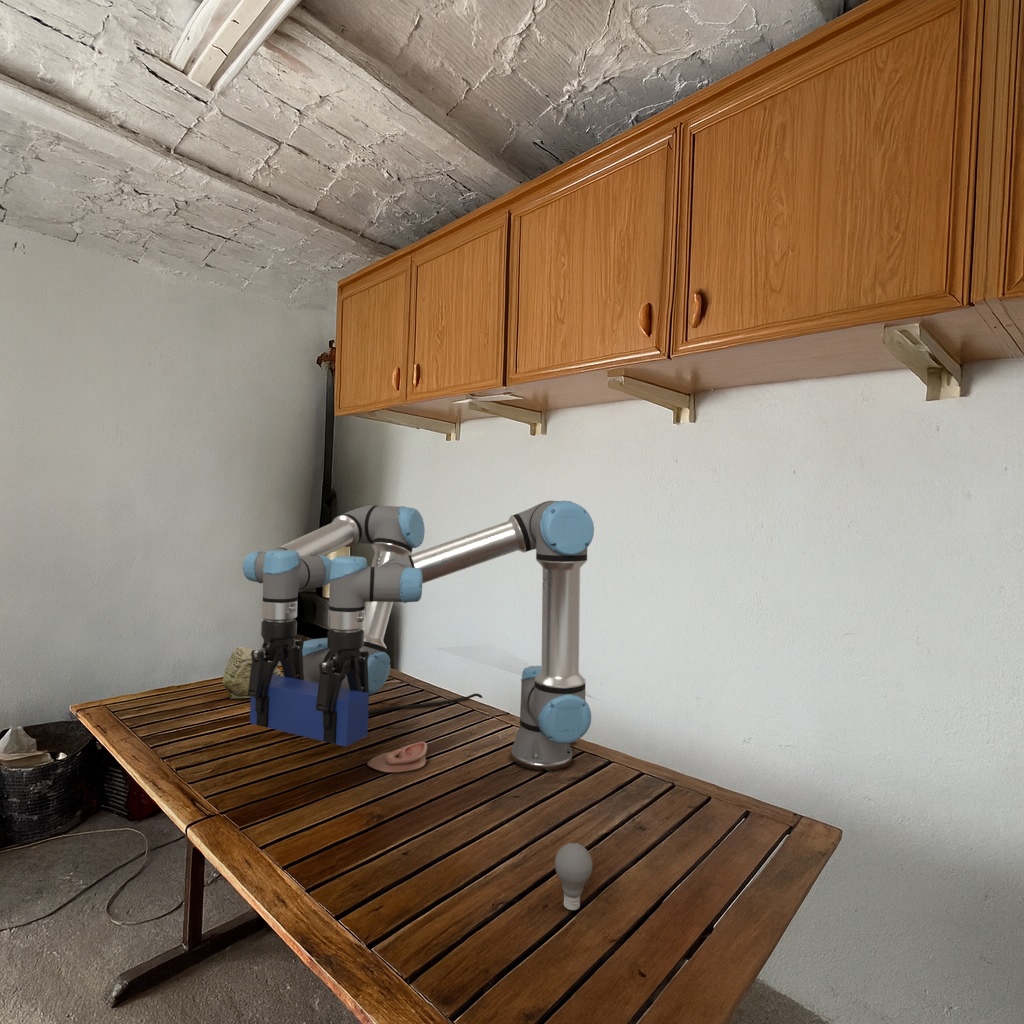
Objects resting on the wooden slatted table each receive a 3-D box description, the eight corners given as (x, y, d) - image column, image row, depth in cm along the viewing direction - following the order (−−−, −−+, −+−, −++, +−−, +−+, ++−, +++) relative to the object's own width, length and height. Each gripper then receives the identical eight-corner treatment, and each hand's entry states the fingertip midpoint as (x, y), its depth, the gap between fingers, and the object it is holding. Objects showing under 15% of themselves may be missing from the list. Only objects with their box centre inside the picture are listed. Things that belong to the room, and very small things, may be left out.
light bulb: (550, 895, 103) (552, 835, 103) (586, 895, 104) (589, 835, 104) (555, 920, 97) (558, 856, 97) (594, 919, 98) (597, 855, 98)
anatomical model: (361, 752, 147) (381, 734, 159) (361, 769, 148) (381, 750, 159) (415, 759, 145) (432, 741, 156) (415, 776, 145) (431, 757, 156)
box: (249, 723, 141) (251, 682, 141) (273, 713, 148) (275, 674, 148) (346, 747, 131) (347, 702, 130) (367, 735, 137) (369, 693, 137)
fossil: (218, 695, 195) (220, 647, 195) (278, 685, 208) (279, 640, 207) (228, 703, 189) (230, 653, 188) (289, 692, 201) (290, 645, 201)
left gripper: (257, 628, 132) (253, 738, 132) (323, 614, 150) (319, 710, 151) (231, 624, 135) (227, 731, 135) (298, 610, 153) (294, 704, 154)
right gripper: (328, 640, 124) (324, 755, 125) (388, 623, 143) (384, 724, 143) (298, 635, 127) (294, 748, 128) (361, 619, 146) (357, 718, 146)
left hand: (275, 720), depth 143 cm, fingers closed on box, 7 cm apart
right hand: (342, 735), depth 135 cm, fingers closed on box, 7 cm apart
